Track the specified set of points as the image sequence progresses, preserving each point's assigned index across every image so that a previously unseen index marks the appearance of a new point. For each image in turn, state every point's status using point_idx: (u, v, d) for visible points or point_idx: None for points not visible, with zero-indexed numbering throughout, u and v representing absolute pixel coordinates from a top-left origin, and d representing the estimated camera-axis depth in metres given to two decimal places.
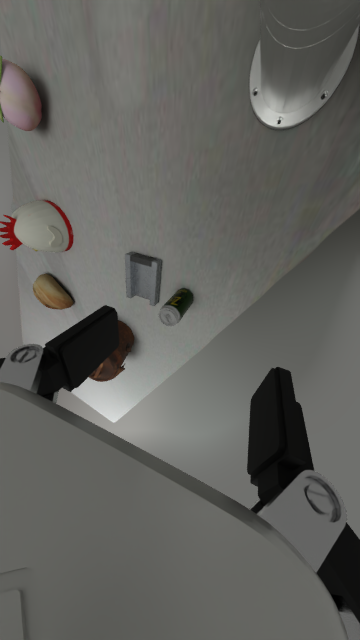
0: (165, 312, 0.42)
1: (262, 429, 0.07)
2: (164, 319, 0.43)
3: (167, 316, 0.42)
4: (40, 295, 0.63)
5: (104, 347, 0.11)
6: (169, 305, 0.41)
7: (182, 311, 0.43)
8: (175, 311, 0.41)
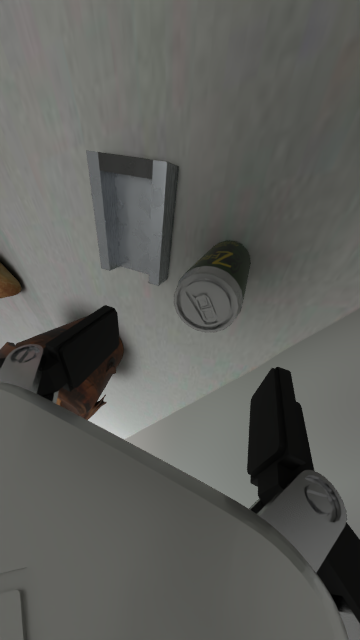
0: (196, 289, 0.13)
1: (262, 429, 0.07)
2: (191, 312, 0.14)
3: (202, 302, 0.13)
4: None
5: (104, 347, 0.11)
6: (209, 266, 0.13)
7: (244, 288, 0.14)
8: (231, 285, 0.12)
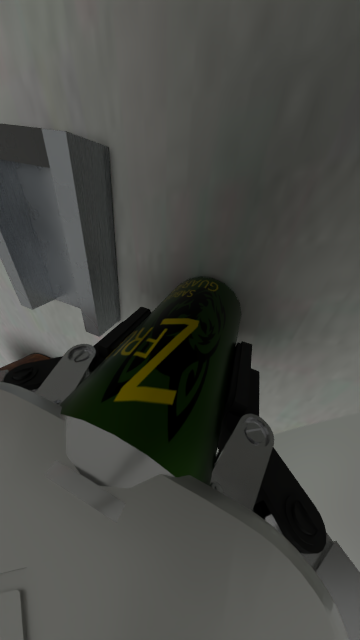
0: None
1: None
2: None
3: None
4: None
5: None
6: (94, 423, 0.04)
7: (216, 435, 0.06)
8: None
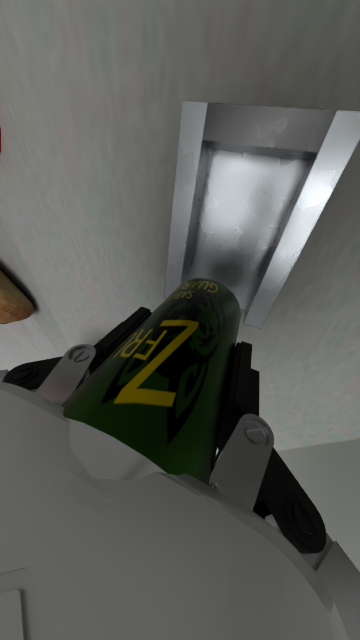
0: None
1: None
2: None
3: None
4: None
5: None
6: (94, 425, 0.04)
7: (215, 436, 0.06)
8: None
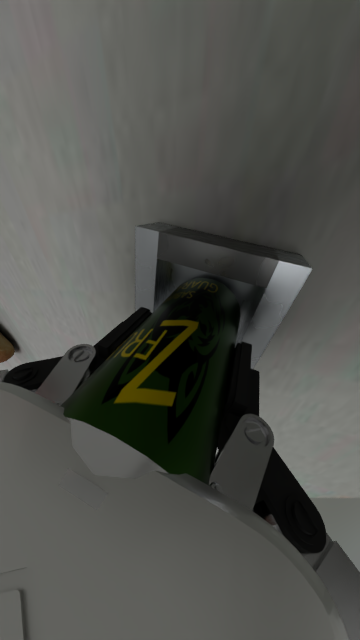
0: None
1: None
2: None
3: None
4: None
5: None
6: (94, 425, 0.04)
7: (216, 436, 0.06)
8: None
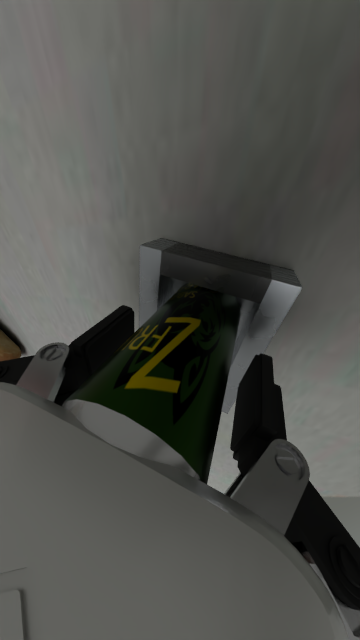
0: None
1: (244, 409, 0.08)
2: None
3: None
4: None
5: None
6: (108, 406, 0.05)
7: (216, 424, 0.06)
8: None
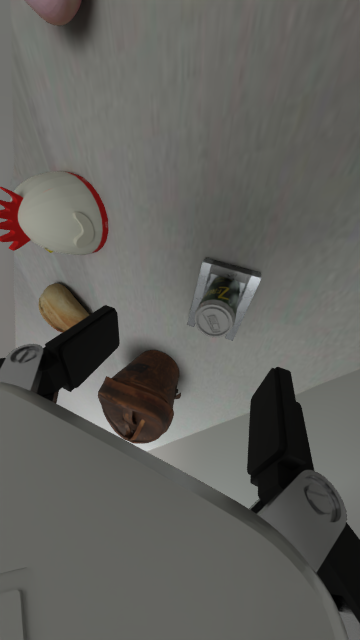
0: (208, 312, 0.23)
1: (262, 429, 0.07)
2: (205, 325, 0.24)
3: (211, 320, 0.23)
4: (50, 315, 0.43)
5: (104, 347, 0.11)
6: (216, 299, 0.23)
7: (236, 311, 0.24)
8: (229, 311, 0.22)
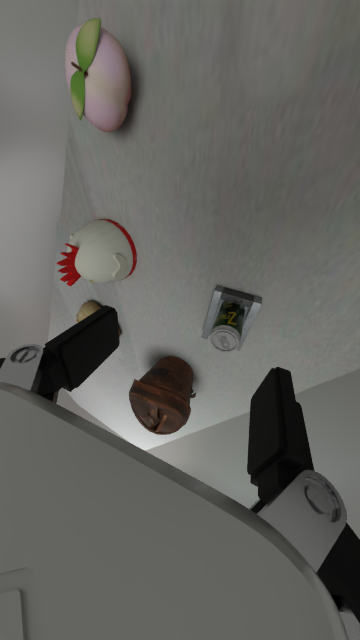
0: (220, 334, 0.31)
1: (262, 429, 0.07)
2: (217, 343, 0.32)
3: (223, 340, 0.31)
4: None
5: (104, 347, 0.11)
6: (226, 325, 0.30)
7: (241, 332, 0.32)
8: (236, 334, 0.30)
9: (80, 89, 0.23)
